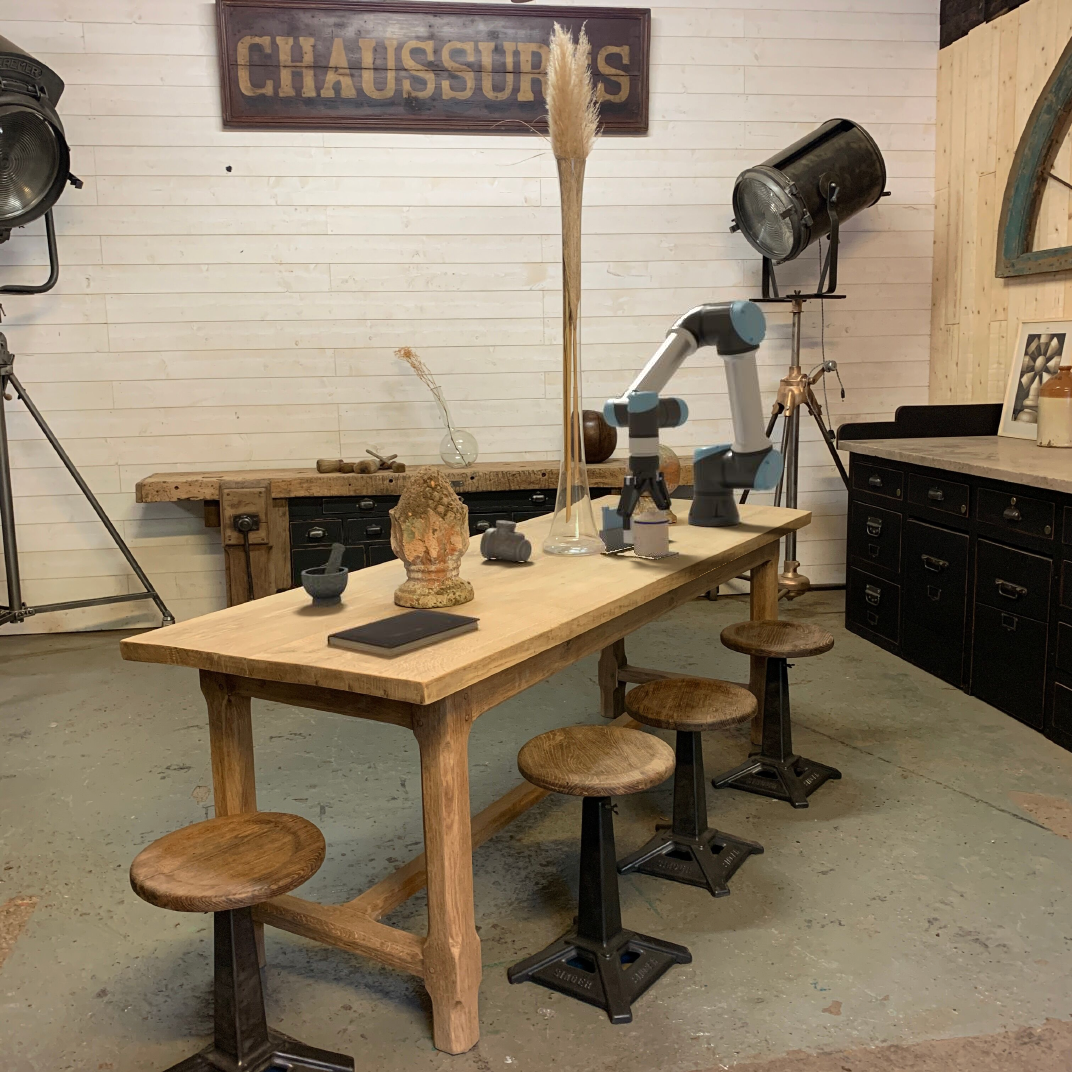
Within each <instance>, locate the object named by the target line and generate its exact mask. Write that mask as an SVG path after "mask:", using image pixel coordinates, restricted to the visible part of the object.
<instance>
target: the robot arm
mask: <svg viewBox="0 0 1072 1072" xmlns="http://www.w3.org/2000/svg"><path fill="white" fill-rule="evenodd" d="M766 331H767V322H766V317H765V313H764V312H763V310H762V308H761V307H760V306H759V305H758V304H757V303H756V302H754V301H752V300H739V299H737V300H732V301H731V300H730V301H720V302H709V303H702V304H699V305H697V306H695V307H692V308H691V309H690V310H688V311H687V312H686V313H684V314H683V315H681V316H680V317H679V318H678V319H677V320H676V321H675V322H674V323H673V324H672V326H671V327H669V329H668V330H667V331H666V333H665V340H663V343H661V345H660V346H659V347H658V349H657V350H656V351H655V353H654V354H653V355H652V356H651V358H650V359H649V360H648V362H647V363H646V364H645V365H644V366H643V367H642V369H641V370H640V372H639V373H638V374H637V375H636V376H635V378H634V379H633V381H632V382H631V383H630V385H629V386H628V387H627V389H625V391H624V392H623V393H622V395H621V396H620V397H619V398H618V397H614V398H610V399H608V400H606V402H605V403H604V405H603V411H602V414H603V419H604V421H605V423H606V424H607V425H608V426H610V427H614V428H615V427H617V428H621V429H622V428H628V453H629V457H628V469H629V471H631V472H632V474H631V476H629V475H627V476H626V475H625V476H624V477H623V485H622V486H623V487H622V491H621V493H620V498H619V501H618V505H617V507H616V508H617V512H616V513H617V515H619V517H622V518H623V530H624V543H630V544H634V517H635V516H633V514H634V512H635V510H636V507H637V505H638V502H639V501H640V498H641V496H643V495H644V493H648V494H649V497H651V499H652V501H653V503H654V505H655V506H656V508H657V509H655V512H659V513H660V514H662V515H664V516H667V511H670V509H671V506H672V501H671V498H670V493H669V490H668V487H667V485H666V481H665V473H664V471H659V469H660V456H659V455H658V454H659V453H660V430H661V429H669V428H670V429H675V428H676V427H680V426H682V425H684V424H685V423H686V422H687V420H688V417H689V415H690V414H689V413H690V412H689V407H688V404H687V402H685V400H683V399H682V398H679V397H674V396H673V397H664V398H663V397H659V394H660V393H661V392H662V390H663V389H664V388H665V386H666V385H667V384H668V382H669V381H670V379H672V377H673V375H674V374H675V373H676V372H677V371H678V369H679V368H680V367H681V366H682V364H683V363H684V361H685V360H686V359H687V357H691V356H693V355H694V354H695V353H696V352H697V350H699V349H701V348H703V347H712V346H713V347H715V348H716V355H717V356H718V357H720V358H721V359H722V360H723V364H724V370H725V377H726V385H727V391H728V397H729V398H728V400H729V406H730V413H731V420H732V427H733V433H734V443H727V444H726V443H725V444H718V445H710V446H709V445H708V446H703V447H702V446H701V447H697V448H696V449H695V450H694V452H693V461H692V466H693V499H692V502H691V506H690V507H689V508H690V509H689V511H688V516H687V521H688V522H687V523H688V524H689V525H692V526H699V527H700V526H701V527H727V526H734V525H738V524H740V520H741V518H740V513H739V510H738V506H737V502H736V500H735V496H734V490H744V491H745V490H747V491H755V492H761V491H762V492H765V491H770V490H771V491H772V490H773V489H774V488H776V487H777V486H778V484H779V482H780V480H781V478H782V476H783V471H784V456H783V455H782V453H781V451H779V450H777V449H774V446H773V445H774V444H773V441H772V440H771V438H770V437H767V435H766V426H765V419H764V413H763V405H762V398H761V397H762V396H761V389H760V382H759V375H758V374H759V373H758V365H757V358H756V354H757V353H758V351H759V350H760V348H761V345H760V344H761V343H762V342H763V341H764V340H765V337H766ZM628 511H629V512H628Z"/></svg>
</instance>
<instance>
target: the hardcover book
mask: <svg viewBox="0 0 1072 1072" xmlns="http://www.w3.org/2000/svg"><path fill="white" fill-rule="evenodd" d="M480 620H481V619H480V618H478V617H473V616H466V615H461V614H454V613H448V612H441V611H436V610H430V609H425V608H424V609H423V608H418V609H414V610H411V611H407V612H404V613H400V614H396V615H393V616H390V617H386V618H382V619H380V620H375V621H371V622H369V623H365V624H362V625H358V626H355V627H351V628H348V629H344V630H341V631H338V632H335V633H334V632H333V633H330V634H328V636H327V645H334V646H337V647H338V646H339V647H343V648H348V649H349V648H350V649H352V650H353V649H354V650H359V651H363V652H368V653H373V654H377V655H381V656H386V657H387V656H389V657H393V656H395V655H398V654H401V653H404V652H408V651H410V650H415V649H417V648H419V647H423V646H426V645H429V644H432V643H435V642H438V641H441V640H444V639H447V638H450V637H453V636H456V635H459V634H462V633H466V632H469V631H472V630H475V629H478V628H479V627H478V626H479V623H478V622H479V621H480Z"/></svg>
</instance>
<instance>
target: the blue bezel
mask: <svg viewBox="0 0 1072 1072" xmlns="http://www.w3.org/2000/svg"><path fill="white" fill-rule="evenodd" d="M617 508H618V507H615V508H610V506H609V505H608V506H607V505H605V506H601V512H602V513H601V514H602V517H601V518H602V530H605V531H606V530H610V529H615V528H619V527H623V518H622V517H619V515H617V513H616V512H617ZM628 512H629V511H628Z"/></svg>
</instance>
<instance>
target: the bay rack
mask: <svg viewBox="0 0 1072 1072" xmlns="http://www.w3.org/2000/svg"><path fill="white" fill-rule="evenodd" d="M598 535H599V536H598V538H599V537H600V538H601V539H602V541H603V542H604V543H605V546H606V549H605V551H606V552H610V551H615V550H619V549H624V548H627V547H632V546H634V544H630V543H624V530H623V527H619V528H615V529H610V530H606V531H605V530H603V529H599V530H598ZM677 553H680V552H679V551H671V550H669V553H668V554H667V555H664V556H656V557H652V558H654V559H657V558H660V557H664V558H666V557H665V556H668V557H670V556H669V555H672V556H674V555H673V554H675V555H678V554H677ZM657 560H658V559H657Z"/></svg>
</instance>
